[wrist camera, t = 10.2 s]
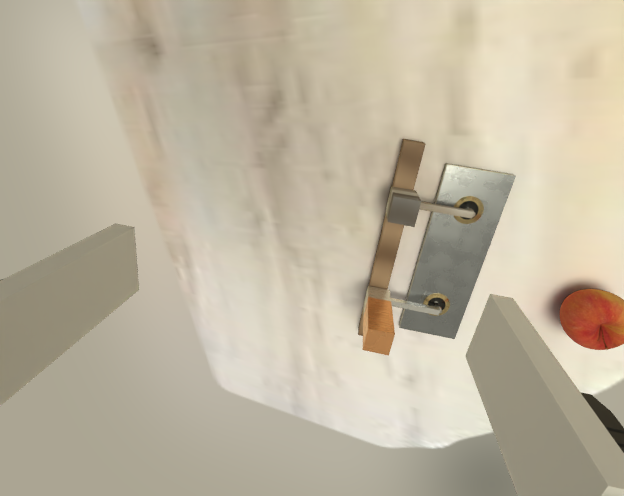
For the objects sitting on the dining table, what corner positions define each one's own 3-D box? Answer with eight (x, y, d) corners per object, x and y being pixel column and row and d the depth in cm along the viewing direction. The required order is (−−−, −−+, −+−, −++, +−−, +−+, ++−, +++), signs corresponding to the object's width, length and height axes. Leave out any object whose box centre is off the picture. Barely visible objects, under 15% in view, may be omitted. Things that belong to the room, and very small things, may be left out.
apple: (621, 286, 46) (669, 321, 39) (590, 331, 49) (629, 371, 42) (564, 271, 46) (601, 303, 39) (537, 316, 49) (567, 354, 42)
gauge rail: (400, 138, 43) (406, 145, 36) (487, 152, 42) (509, 161, 36) (356, 326, 54) (355, 356, 48) (424, 340, 53) (432, 373, 47)
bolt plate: (445, 163, 43) (447, 164, 42) (512, 174, 43) (516, 176, 42) (398, 323, 53) (399, 328, 52) (453, 334, 52) (454, 339, 51)
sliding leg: (368, 282, 49) (367, 328, 39) (443, 297, 48) (462, 348, 39) (363, 301, 51) (362, 349, 41) (436, 315, 50) (454, 369, 40)
